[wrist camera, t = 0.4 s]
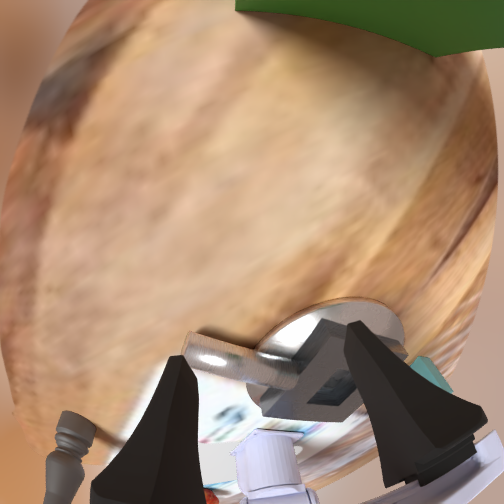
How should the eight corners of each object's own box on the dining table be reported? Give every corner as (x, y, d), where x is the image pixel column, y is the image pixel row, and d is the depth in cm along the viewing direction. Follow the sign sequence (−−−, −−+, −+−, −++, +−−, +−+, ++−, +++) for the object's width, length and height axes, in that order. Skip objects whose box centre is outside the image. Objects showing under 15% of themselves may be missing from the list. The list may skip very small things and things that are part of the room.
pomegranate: (222, 482, 46) (205, 496, 37) (228, 504, 43) (213, 521, 34) (194, 481, 47) (175, 494, 38) (201, 503, 44) (183, 518, 35)
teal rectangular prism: (411, 377, 31) (432, 411, 25) (400, 376, 30) (422, 413, 24) (429, 358, 30) (453, 391, 23) (418, 355, 29) (444, 391, 23)
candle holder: (78, 431, 31) (54, 548, 8) (54, 410, 28) (20, 535, 5) (103, 432, 30) (83, 562, 8) (78, 411, 28) (46, 552, 5)
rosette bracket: (339, 415, 32) (348, 436, 28) (163, 384, 26) (159, 413, 22) (425, 320, 26) (443, 340, 23) (227, 239, 20) (228, 264, 16)
